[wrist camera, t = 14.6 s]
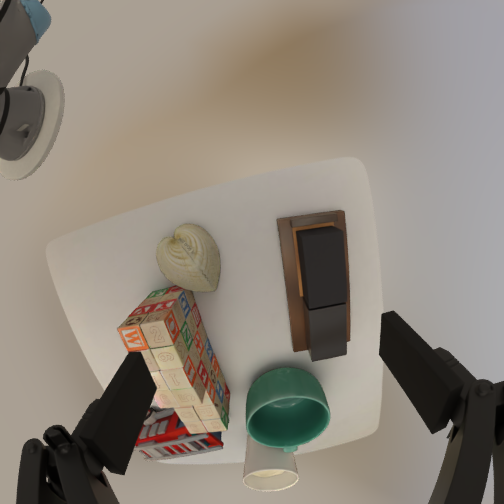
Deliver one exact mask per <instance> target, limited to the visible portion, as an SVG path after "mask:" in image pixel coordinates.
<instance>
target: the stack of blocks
mask: <svg viewBox="0 0 504 504" xmlns="http://www.w3.org/2000/svg"><path fill="white" fill-rule="evenodd" d="M117 330H118V332H119V334H120V336H121V338H122V340H123V343H124V345H125V347H126V349H127V351H128V353H129V352H138V351H141V353H142V355H143V357H144V360H145V362H146V364H147V367H148V369H149V371H150V373H151V376H152V378H153V380H154V382H155V384H156V386H157V390H156V393H155V395H154V399H155V401H156V403H157V404H158V406H159V407H160V408H173V407H174V410H175V411H176V413H177V415H178V416H179V418H180V419H181V421H182V422H183V423H184V425H185V426H186V428H187V430H188V431H189V433H190V434H195V433H208V432H218V431H227V429H228V412H229V400H230V392H229V390H228V388H227V385H226V383H225V379H224V377H223V375H222V372H221V370H220V368H219V365H218V362H217V359H216V357H215V354H214V353H213V350H212V348H211V345H210V343H209V340H208V338H207V335H206V332H205V330H204V327H203V324H202V322H201V317H200V314H199V311H198V309H197V306H196V303H195V299H194V296H193V293H192V291H190V290H187V289H184V288H181V287H179V286H174V287H170V288H166V289H162V290H158V291H153V292H152V293H151V294H150V295H149V296H148V297H147V298H146V299H145V300H144V301H143V302H142V303H141V304H140V305H139V306H138V308H136V309H135V310H134V311H133V312H132V313H131V314H130V315H129V316H128V318H127V319H126V320H125V321H124V322H123V323H122V324H121V325H120V326H119V327H118V328H117Z"/></svg>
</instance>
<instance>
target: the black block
mask: <svg viewBox="0 0 504 504" xmlns="http://www.w3.org/2000/svg"><path fill="white" fill-rule="evenodd" d="M296 238H297V246H298V254H299V262H300V271H301V280H302V290H303V296H304V298H305V300H306V303H307V305H308V307H309V309H311V308H317V307H322V306H328V305H333V304H338V303H343V302H347V276H346V259H345V246H344V234H343V231H342V230H340V229H338V228H336V227H334V226H325V227H319V228H312V229H305V230H298V231H296Z"/></svg>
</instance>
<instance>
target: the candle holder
mask: <svg viewBox="0 0 504 504" xmlns="http://www.w3.org/2000/svg"><path fill="white" fill-rule="evenodd" d="M298 480H299V475H298V472H297V468H296V463H295V459H294V454H293V452H290V453H287V452H284V451H283V448H274V447H268V446H265V445H262V444H260V443H258V442H256V441H255V440H253V439H252V438H251V437H250V435H249V434H248V437H247V446H246V456H245V466H244V476H243V484H244V485H245V486H246V487H248V488H250V489H253V490H258V491H278V490H283V489H286V488H289V487H291V486H293V485H294V484H296V483H297V482H298Z"/></svg>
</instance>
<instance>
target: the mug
mask: <svg viewBox="0 0 504 504" xmlns="http://www.w3.org/2000/svg"><path fill="white" fill-rule="evenodd" d="M329 421H330V410H329V406H328V403H327V400H326V397H325V394H324V391H323V389H322V387H321V385H320V383H319V382H318V380H317V379H316V378H315V377H314V376H313V375H312V374H310V373H308V372H307V371H304V370H301V369H298V368H279V369H275V370H272V371H269V372H267V373H265V374H263V375H262V376H260V377H259V378H258V379H257V380H256V381H255V382H254V383H253V384H252V386H251V388H250V389H249V392H248V395H247V401H246V429H247V432H248V434H249V435H250V437H251V438H252V439H253V440H255V441H256V442H258V443H260V444H262V445H265V446H268V447H274V448H283V451H284V452H287V453H290V452H294V451H296V450H297V446H299V445H302V444H305V443H308V442H310V441H312V440H313V439H315V438H316V437H318V436H319V435H320V434H321V433H322V432H323V431H324V430H325V429H326V428H327V426H328V424H329Z"/></svg>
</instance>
